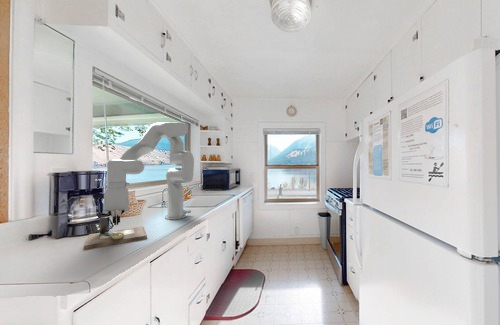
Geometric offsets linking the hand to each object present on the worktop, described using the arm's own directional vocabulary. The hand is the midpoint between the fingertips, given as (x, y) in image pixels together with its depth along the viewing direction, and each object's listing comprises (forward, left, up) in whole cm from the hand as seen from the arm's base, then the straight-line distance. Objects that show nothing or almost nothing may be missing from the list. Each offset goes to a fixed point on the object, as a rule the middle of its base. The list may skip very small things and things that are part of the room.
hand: (116, 224), depth 96 cm
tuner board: (-1, +5, -5) cm, 7 cm away
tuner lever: (+2, +6, -3) cm, 7 cm away
